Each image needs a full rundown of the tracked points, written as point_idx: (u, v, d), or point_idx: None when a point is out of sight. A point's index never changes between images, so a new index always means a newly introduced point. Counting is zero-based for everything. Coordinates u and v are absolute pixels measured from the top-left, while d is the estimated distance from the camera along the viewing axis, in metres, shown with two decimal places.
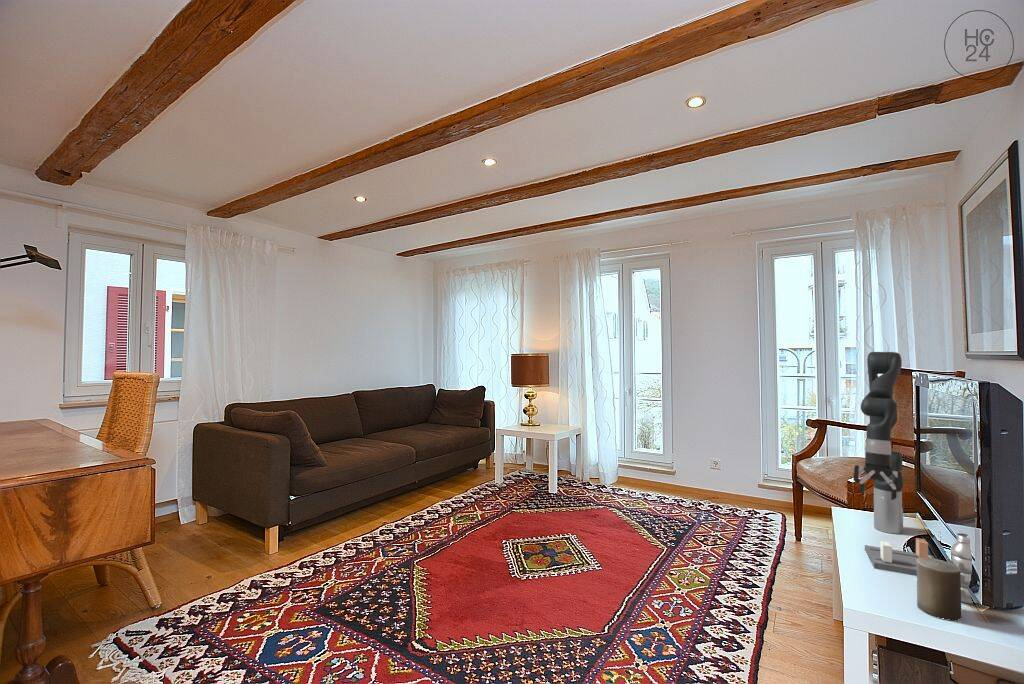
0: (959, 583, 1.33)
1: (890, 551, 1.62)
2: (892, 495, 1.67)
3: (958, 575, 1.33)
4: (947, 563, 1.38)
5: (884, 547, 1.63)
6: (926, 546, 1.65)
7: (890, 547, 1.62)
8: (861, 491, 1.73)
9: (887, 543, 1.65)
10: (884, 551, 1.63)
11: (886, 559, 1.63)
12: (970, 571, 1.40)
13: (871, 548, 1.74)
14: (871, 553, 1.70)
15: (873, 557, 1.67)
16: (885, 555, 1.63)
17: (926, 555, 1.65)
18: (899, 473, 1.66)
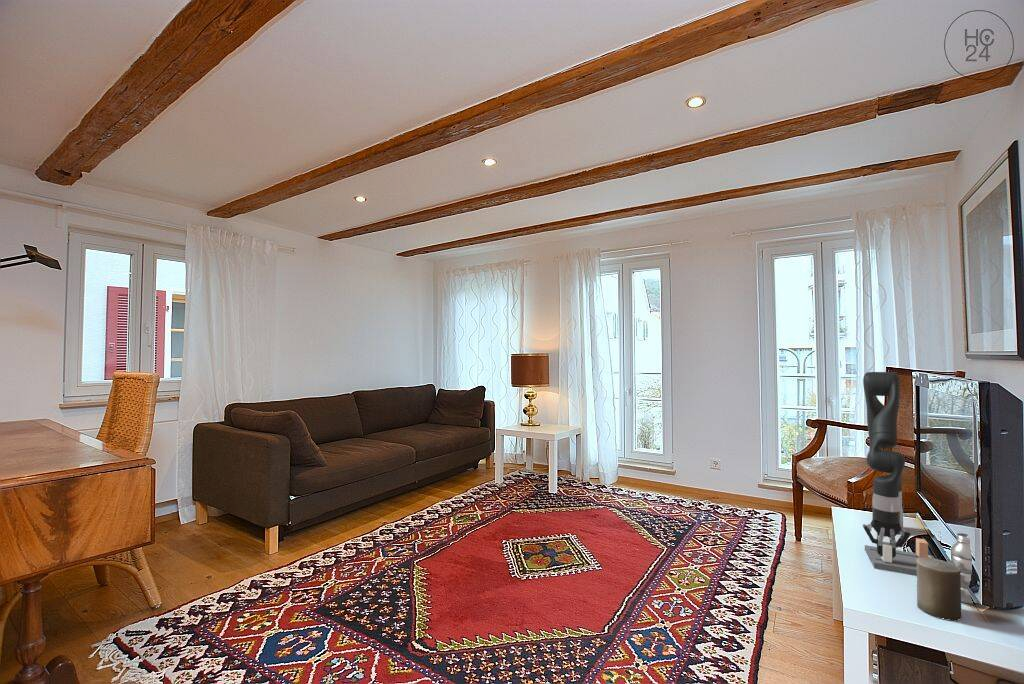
0: (959, 583, 1.33)
1: (890, 551, 1.62)
2: (892, 554, 1.63)
3: (958, 575, 1.33)
4: (947, 563, 1.38)
5: (884, 547, 1.63)
6: (926, 546, 1.65)
7: (890, 547, 1.62)
8: (879, 553, 1.65)
9: (887, 543, 1.65)
10: (884, 551, 1.63)
11: (886, 559, 1.63)
12: (970, 571, 1.40)
13: (871, 548, 1.74)
14: (871, 553, 1.70)
15: (873, 557, 1.67)
16: (885, 555, 1.63)
17: (926, 555, 1.65)
18: (908, 534, 1.61)
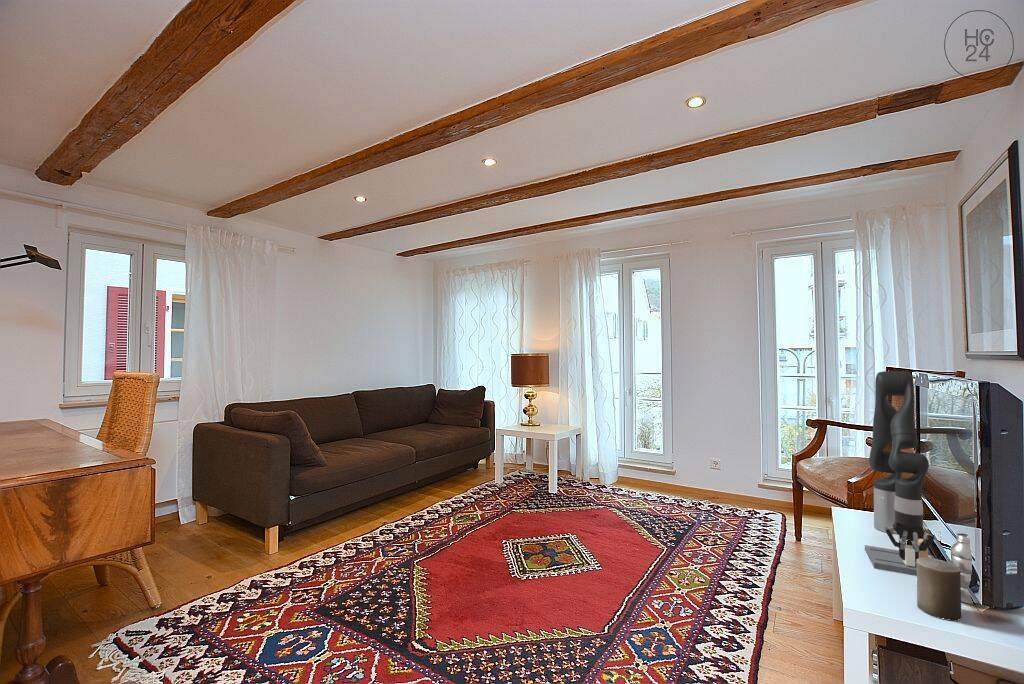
0: (959, 583, 1.33)
1: (913, 555, 1.59)
2: (915, 557, 1.60)
3: (958, 575, 1.33)
4: (947, 563, 1.38)
5: (907, 551, 1.60)
6: None
7: (913, 551, 1.59)
8: (902, 556, 1.62)
9: (910, 547, 1.62)
10: (907, 555, 1.60)
11: (909, 563, 1.60)
12: (970, 571, 1.40)
13: (871, 548, 1.74)
14: (871, 553, 1.70)
15: (873, 557, 1.67)
16: (908, 559, 1.60)
17: (926, 555, 1.65)
18: (931, 538, 1.58)
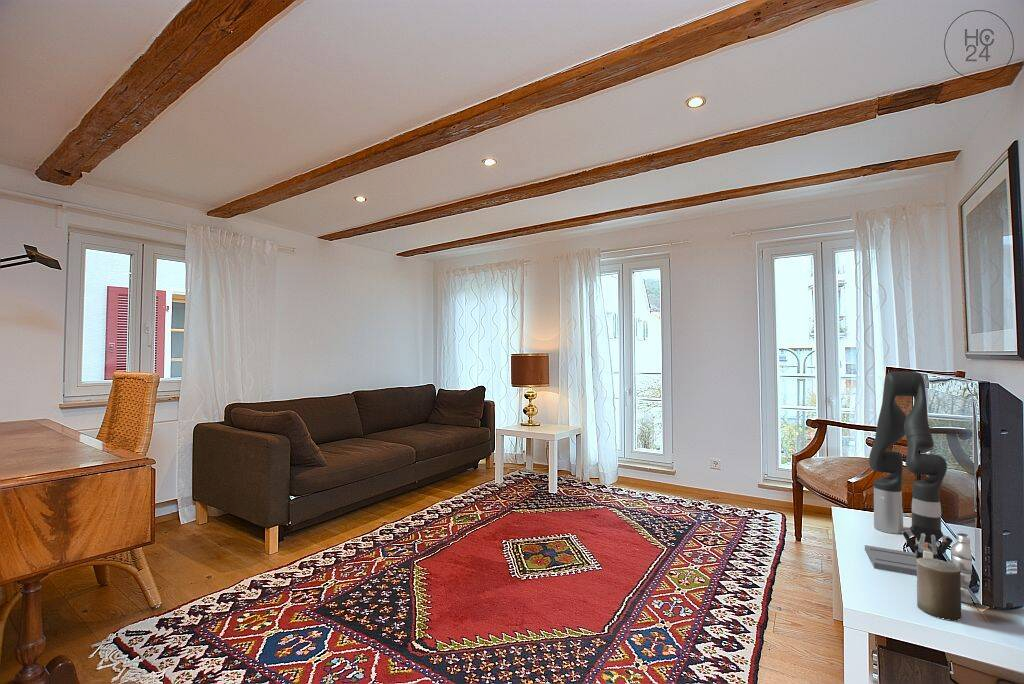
0: (959, 583, 1.33)
1: None
2: None
3: (958, 575, 1.33)
4: (947, 563, 1.38)
5: (925, 553, 1.58)
6: (926, 546, 1.65)
7: (931, 553, 1.57)
8: None
9: (927, 549, 1.60)
10: None
11: None
12: (970, 571, 1.40)
13: (871, 548, 1.74)
14: (871, 553, 1.70)
15: (873, 557, 1.67)
16: None
17: None
18: (949, 540, 1.56)
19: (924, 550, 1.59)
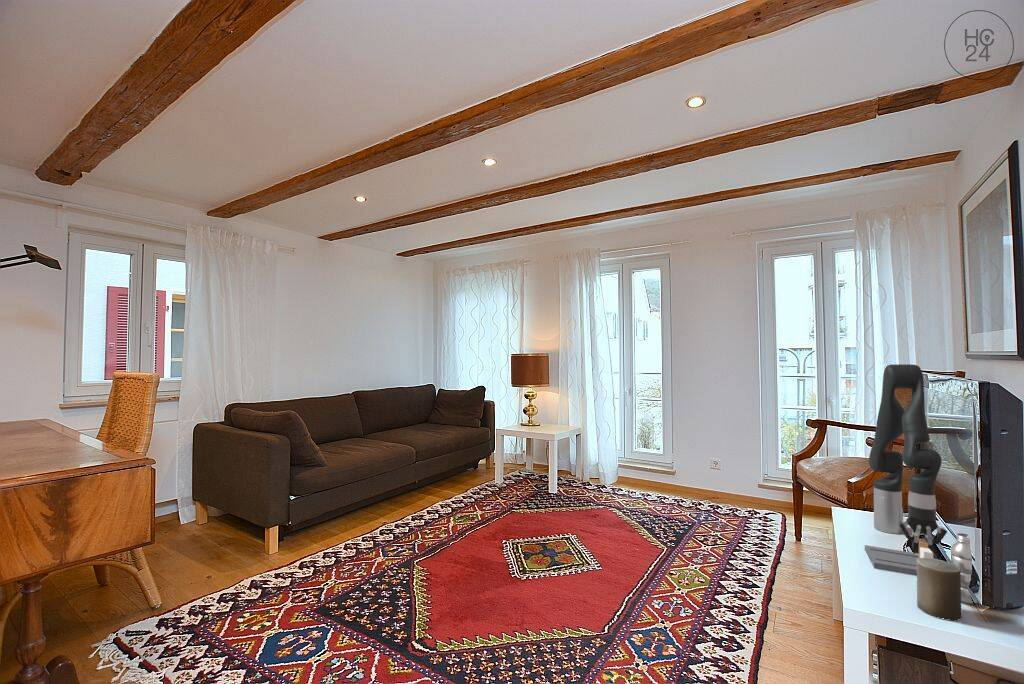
0: (959, 583, 1.33)
1: None
2: None
3: (958, 575, 1.33)
4: (947, 563, 1.38)
5: (925, 553, 1.58)
6: (926, 546, 1.65)
7: (931, 553, 1.57)
8: (915, 550, 1.67)
9: (927, 549, 1.60)
10: None
11: None
12: (970, 571, 1.40)
13: (871, 548, 1.74)
14: (871, 553, 1.70)
15: (873, 557, 1.67)
16: None
17: None
18: (944, 531, 1.63)
19: (924, 550, 1.59)
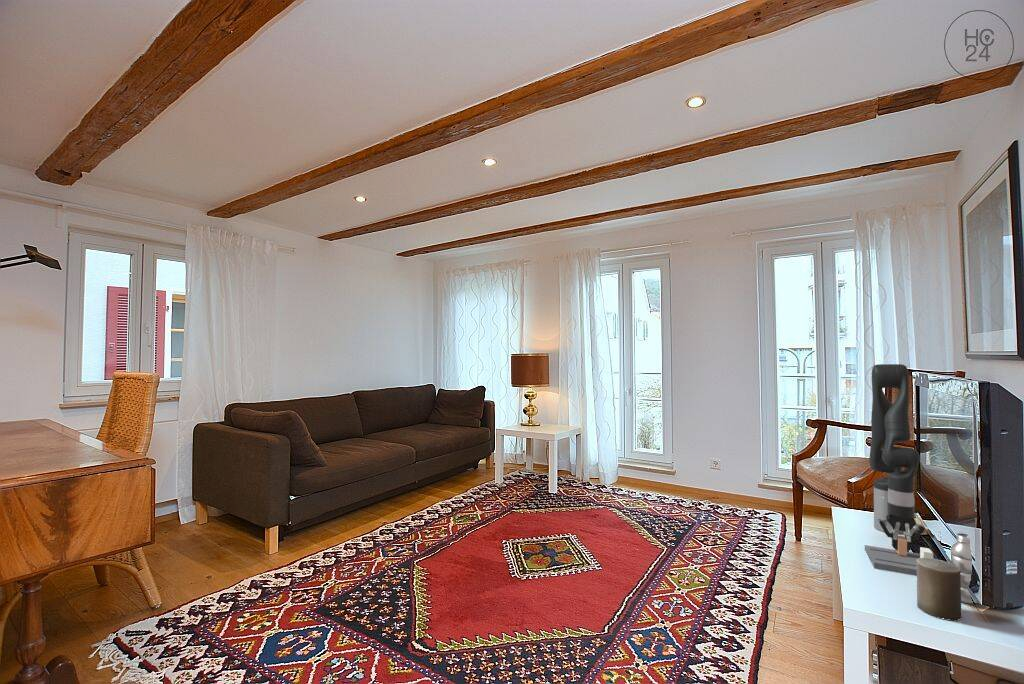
0: (959, 583, 1.33)
1: None
2: (907, 547, 1.68)
3: (958, 575, 1.33)
4: (947, 563, 1.38)
5: (925, 553, 1.58)
6: (905, 543, 1.67)
7: (931, 553, 1.57)
8: (895, 546, 1.70)
9: (927, 549, 1.60)
10: None
11: None
12: (970, 571, 1.40)
13: (871, 548, 1.74)
14: (871, 553, 1.70)
15: (873, 557, 1.67)
16: None
17: (905, 552, 1.67)
18: (922, 528, 1.66)
19: (924, 550, 1.59)
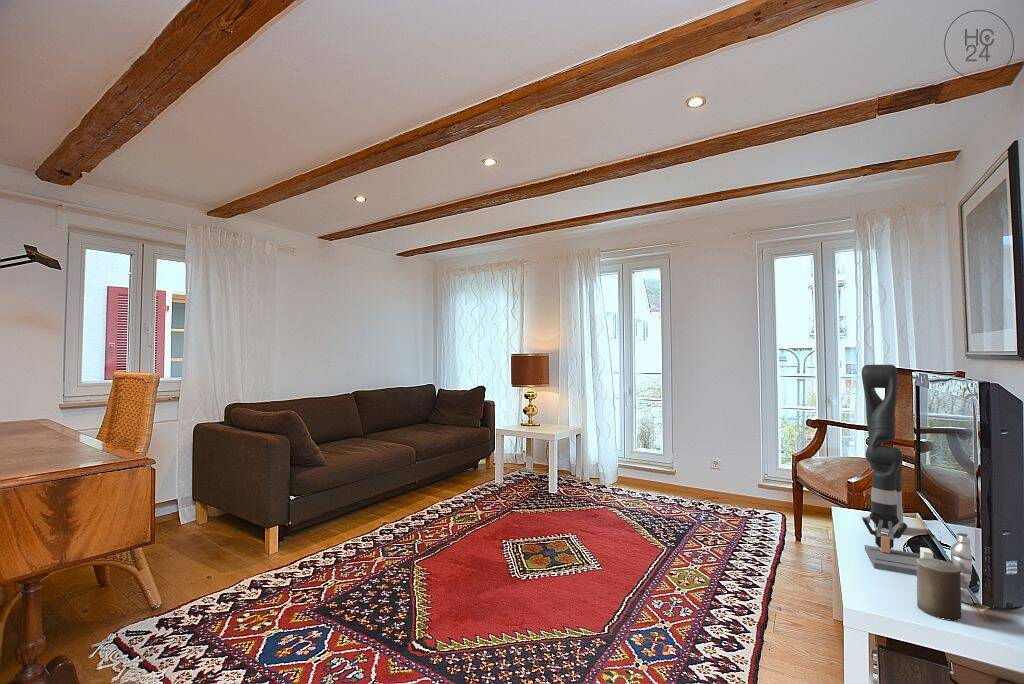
0: (959, 583, 1.33)
1: None
2: (890, 544, 1.70)
3: (958, 575, 1.33)
4: (947, 563, 1.38)
5: (925, 553, 1.58)
6: (888, 540, 1.70)
7: (931, 553, 1.57)
8: (878, 544, 1.72)
9: (927, 549, 1.60)
10: None
11: None
12: (970, 571, 1.40)
13: (871, 548, 1.74)
14: (871, 553, 1.70)
15: (873, 557, 1.67)
16: None
17: (888, 549, 1.70)
18: (905, 526, 1.68)
19: (924, 550, 1.59)
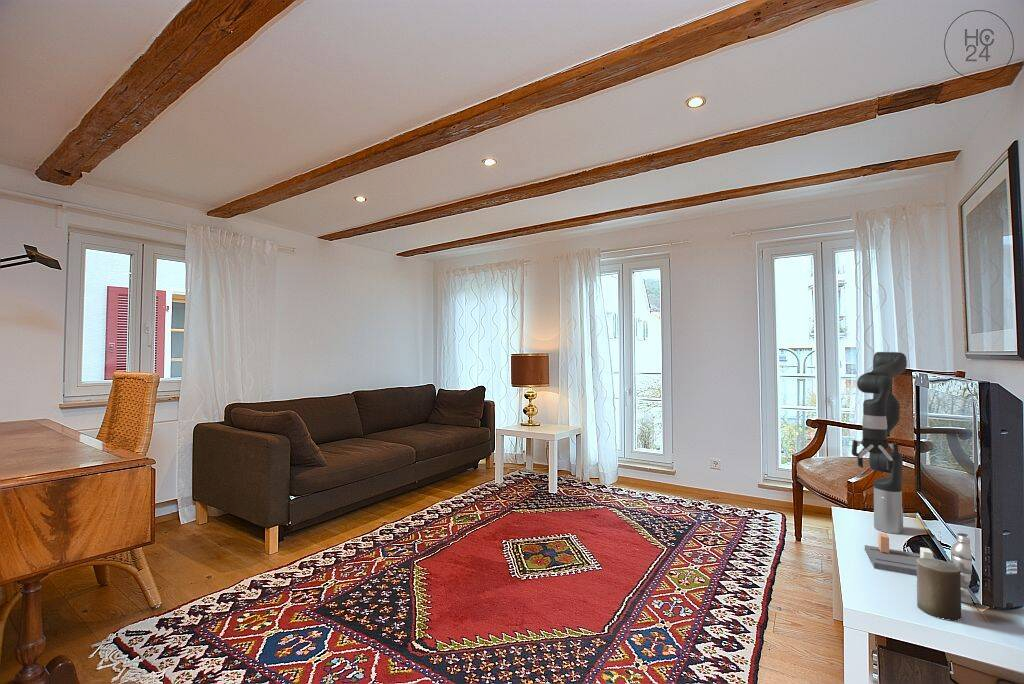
0: (959, 583, 1.33)
1: None
2: (889, 466, 1.78)
3: (958, 575, 1.33)
4: (947, 563, 1.38)
5: (925, 553, 1.58)
6: (887, 540, 1.70)
7: (931, 553, 1.57)
8: (860, 464, 1.82)
9: (927, 549, 1.60)
10: None
11: None
12: (970, 571, 1.40)
13: (871, 548, 1.74)
14: (871, 553, 1.70)
15: (873, 557, 1.67)
16: None
17: (887, 549, 1.70)
18: (895, 445, 1.77)
19: (924, 550, 1.59)
